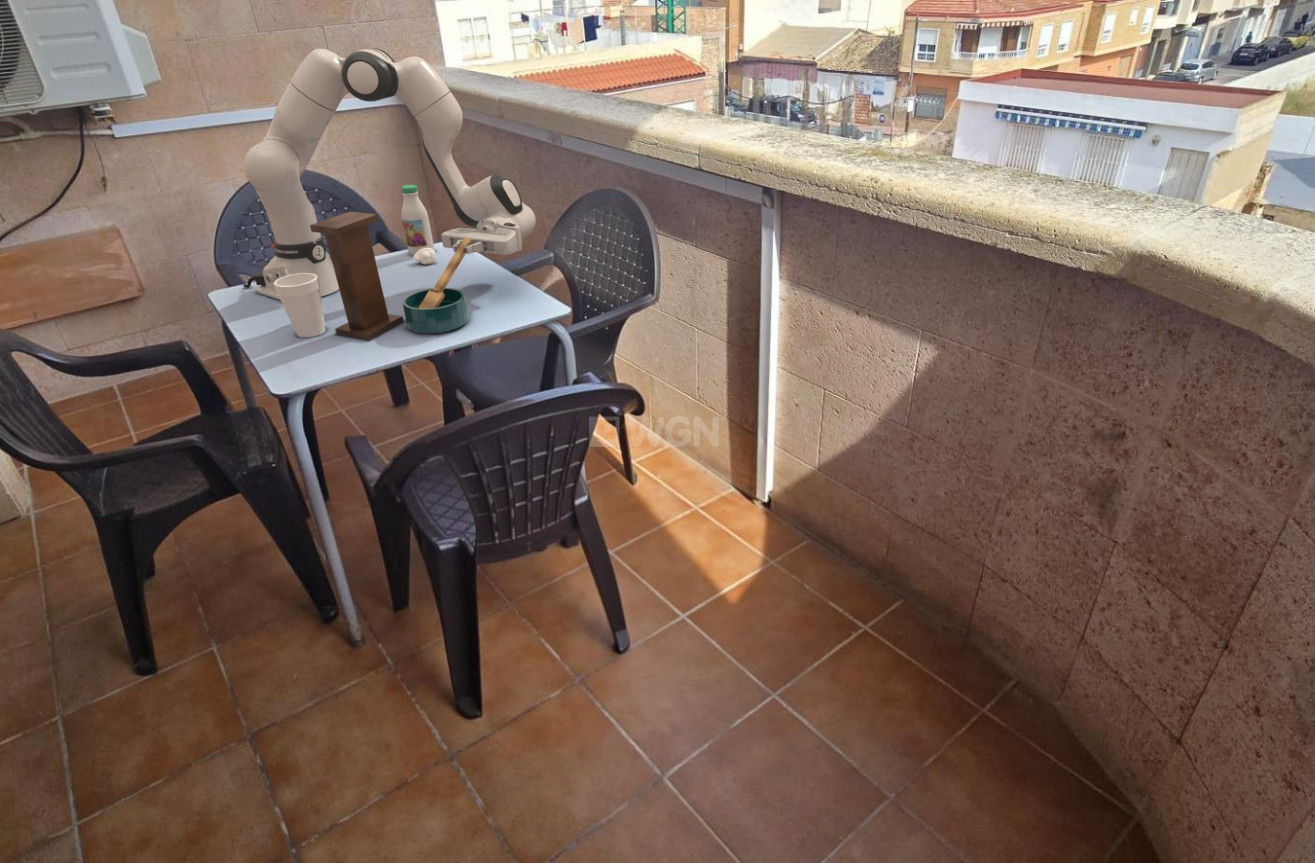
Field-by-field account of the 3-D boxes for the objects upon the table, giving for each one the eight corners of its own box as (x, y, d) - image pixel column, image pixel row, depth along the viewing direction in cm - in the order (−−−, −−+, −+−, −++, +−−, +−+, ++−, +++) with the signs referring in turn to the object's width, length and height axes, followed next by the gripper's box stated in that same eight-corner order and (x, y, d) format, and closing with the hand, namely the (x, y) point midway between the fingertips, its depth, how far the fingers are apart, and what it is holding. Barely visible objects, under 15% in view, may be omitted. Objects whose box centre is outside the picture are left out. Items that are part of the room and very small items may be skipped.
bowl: (395, 330, 173) (389, 304, 170) (433, 309, 185) (429, 284, 181) (444, 339, 168) (438, 312, 165) (480, 316, 180) (476, 291, 176)
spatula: (462, 241, 183) (460, 237, 181) (476, 243, 181) (474, 238, 180) (417, 315, 173) (414, 312, 171) (431, 318, 171) (428, 314, 170)
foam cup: (316, 341, 169) (301, 287, 163) (281, 338, 171) (264, 285, 164) (339, 325, 177) (325, 273, 171) (306, 323, 179) (290, 272, 172)
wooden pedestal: (336, 334, 172) (306, 224, 159) (372, 316, 182) (346, 211, 168) (369, 340, 169) (340, 228, 155) (403, 321, 178) (380, 214, 165)
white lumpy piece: (439, 260, 220) (438, 248, 217) (433, 269, 216) (432, 257, 213) (417, 256, 220) (415, 244, 217) (410, 264, 216) (409, 252, 213)
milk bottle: (420, 247, 231) (407, 182, 221) (439, 250, 228) (427, 184, 218) (403, 254, 225) (389, 187, 215) (423, 257, 222) (409, 189, 212)
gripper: (458, 219, 192) (424, 233, 181) (524, 226, 185) (493, 241, 174) (462, 242, 195) (429, 258, 185) (527, 250, 188) (496, 266, 177)
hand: (460, 250), depth 179 cm, fingers closed on spatula
